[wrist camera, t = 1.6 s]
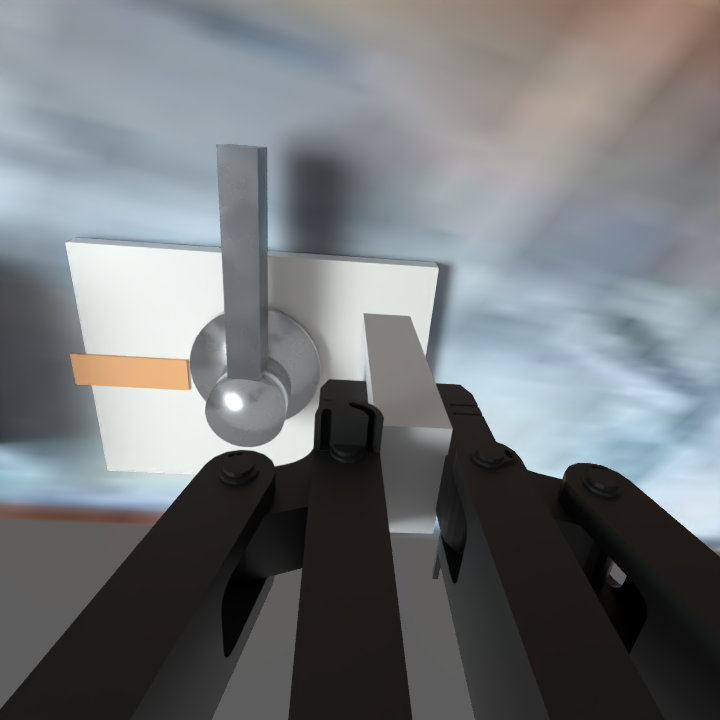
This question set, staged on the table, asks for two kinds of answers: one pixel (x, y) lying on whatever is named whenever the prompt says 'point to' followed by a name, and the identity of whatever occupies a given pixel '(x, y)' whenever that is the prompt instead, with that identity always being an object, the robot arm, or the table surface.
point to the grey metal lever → (250, 320)
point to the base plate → (187, 318)
